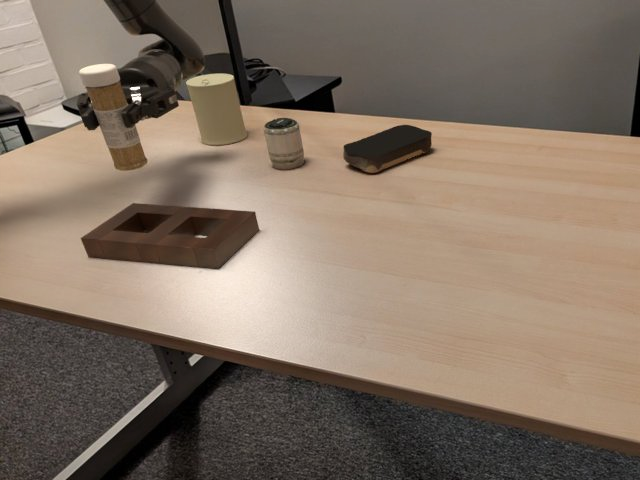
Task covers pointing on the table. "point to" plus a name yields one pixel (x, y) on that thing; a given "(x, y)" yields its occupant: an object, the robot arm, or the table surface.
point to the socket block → (172, 235)
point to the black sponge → (387, 148)
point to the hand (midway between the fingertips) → (107, 121)
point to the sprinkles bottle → (113, 116)
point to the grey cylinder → (284, 143)
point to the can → (217, 109)
